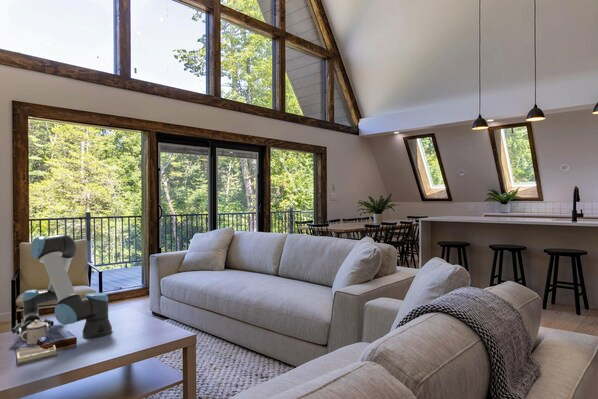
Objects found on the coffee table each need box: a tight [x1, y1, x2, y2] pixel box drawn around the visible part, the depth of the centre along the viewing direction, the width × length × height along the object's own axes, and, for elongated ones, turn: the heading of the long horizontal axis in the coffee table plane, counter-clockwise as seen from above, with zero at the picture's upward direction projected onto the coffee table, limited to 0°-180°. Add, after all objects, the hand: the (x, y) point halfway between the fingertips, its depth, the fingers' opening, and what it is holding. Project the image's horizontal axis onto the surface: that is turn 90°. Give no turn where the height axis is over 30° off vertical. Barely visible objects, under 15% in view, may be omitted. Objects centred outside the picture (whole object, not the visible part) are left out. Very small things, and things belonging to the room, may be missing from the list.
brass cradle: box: [16, 344, 58, 363], centre depth 187 cm, size 8×16×2 cm, turn 128°
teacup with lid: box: [20, 320, 47, 345], centre depth 207 cm, size 12×9×12 cm
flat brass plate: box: [15, 344, 58, 366], centre depth 192 cm, size 20×16×1 cm
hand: (34, 331), depth 204 cm, fingers closed on teacup with lid, 11 cm apart
